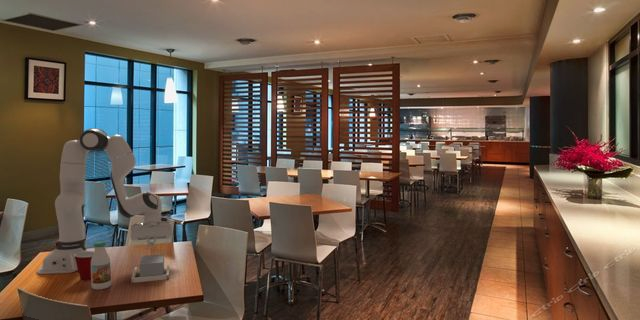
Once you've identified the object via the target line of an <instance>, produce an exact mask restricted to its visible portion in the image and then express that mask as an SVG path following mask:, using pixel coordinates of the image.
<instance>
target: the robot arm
mask: <svg viewBox="0 0 640 320" xmlns="http://www.w3.org/2000/svg"><path fill="white" fill-rule="evenodd" d="M62 148H63V149H62V152H61V157H60V167H59V168H60V169H59V184H60V193H59V195H58V196H57V197H56V198H55V201H54V208H55V215H56V219H57V223H58V235H59V236H58V237H59V239H57V240H56V241H55V243H54V248H55V249H53V250H52V251H50V252H49V253H48V254H47V255H46V256H45V257H44V258H43V260H42V265H41V266H40V267H38V269H37V270H36V273H37V274H38V275H49V274H50V275H53V274H71V273H73V272H74V273H75V272H78V268H77V264H76V260H75V257H74V254H75V253H79V252H86V250H87V237H86V238H85V235H84V224H85V222H84V218H83V212H82V211H83V210H82V207H83V205H84V204H85V200H86V171H87V157H88V154H89V152H96V151H104V152H105V153H106V154H107V156H108V158H109V161H110V162H111V168H112V169H111V171H110V173H109V174H110V181H111V184H112V188H113V191H114V194H115V198H116V203H117V210H118V213H119V214H120V215H121V216H122V217H125V218H127V219H130V218H132V217H134V216H137V215H138V214H141V213H143V214H144V215H143V222H142V223H141V222H140V223H138V222H137V223H133V224H132V225H130V230H131V231H130V240H131V241H132V242H135V241H146V243H147V244H148V247H156V246H155V245H156V243H157V242H158V240H165V239H166V240H167V239H172V238H173V237H174V235H173V233H174V231H173V226H172V223H171V220H170V218H169V217H165V216H162V211H163V208H162V206H163V205H162V199H161V197H160V196H159V195H157V194H155V193H154V194H153V193H151V192H149V191H143V192H140V193H138V194H135V195H132V196H128V195H127V192H126V188H125V184H124V181H125V178H127V175H129V174H130V173H131V172H132V171H133V170H134V168H135V165H136V161H137V160H136V158H135V154H134V153H133V150H132V149H131V147H130V145H129V144H128V142H127V141H126V139H125V138H124V136H123V135H120V134H113V135H110V136H108V135H107V133H106V132H105V131H104V130H103V129H100V128H95V127H93V128H88V129H85V130H84V131H82V132H81V134H80V135H79V139H74V140H73V139H72V140H68V141H66V142H65V143H64V145H63V147H62ZM151 240H153V241H151Z"/></svg>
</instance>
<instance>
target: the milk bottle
mask: <svg viewBox="0 0 640 320" xmlns="http://www.w3.org/2000/svg"><path fill="white" fill-rule="evenodd" d="M93 249H94V250H93V252H94V254H93V256H92V259H91V279H90V281H91V289H92V290H95V291H96V290H104V289H105V290H106V289H107V288H110V287H111V285H112V276H111V274H112V273H111V258H110V256H109V254H108V252H107V249H106V241H103V240H102V241H101V240H99V241H95V242H94V243H93Z"/></svg>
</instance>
